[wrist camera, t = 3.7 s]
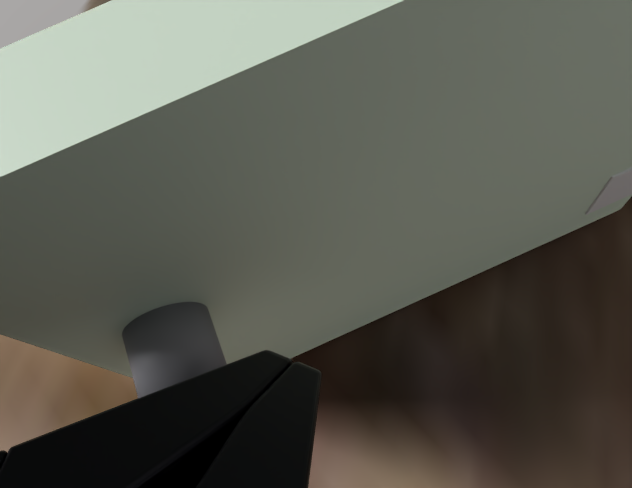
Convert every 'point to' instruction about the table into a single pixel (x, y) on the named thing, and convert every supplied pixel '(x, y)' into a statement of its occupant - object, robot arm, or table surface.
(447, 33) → the door
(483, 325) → the table surface
